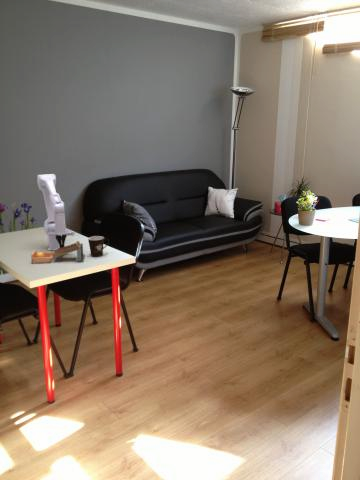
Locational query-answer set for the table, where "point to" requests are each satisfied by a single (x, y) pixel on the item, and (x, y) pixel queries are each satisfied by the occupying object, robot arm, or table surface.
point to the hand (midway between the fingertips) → (62, 248)
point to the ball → (40, 255)
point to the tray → (46, 259)
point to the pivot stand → (80, 254)
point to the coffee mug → (96, 245)
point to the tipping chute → (67, 249)
